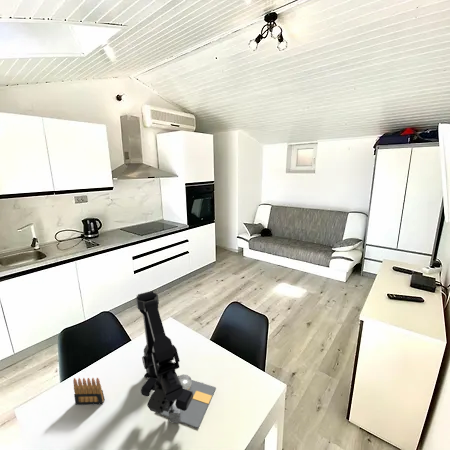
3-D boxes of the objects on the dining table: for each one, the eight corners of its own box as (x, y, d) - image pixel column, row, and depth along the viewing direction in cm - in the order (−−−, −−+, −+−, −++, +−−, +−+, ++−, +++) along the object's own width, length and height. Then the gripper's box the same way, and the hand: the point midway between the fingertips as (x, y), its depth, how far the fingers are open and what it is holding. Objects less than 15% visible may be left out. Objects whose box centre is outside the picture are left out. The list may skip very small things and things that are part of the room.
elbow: (177, 382, 104) (176, 373, 103) (193, 383, 104) (192, 374, 103) (165, 421, 88) (164, 412, 87) (184, 423, 88) (184, 413, 87)
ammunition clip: (104, 400, 98) (100, 375, 95) (102, 404, 96) (98, 379, 93) (78, 400, 98) (73, 376, 95) (75, 404, 96) (70, 380, 93)
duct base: (155, 412, 93) (154, 406, 92) (178, 376, 108) (177, 371, 108) (198, 428, 87) (197, 422, 86) (215, 388, 103) (215, 382, 102)
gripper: (128, 387, 83) (132, 422, 87) (177, 405, 77) (179, 442, 81) (149, 363, 93) (151, 395, 97) (193, 377, 87) (194, 411, 91)
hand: (168, 410), depth 91 cm, fingers closed
